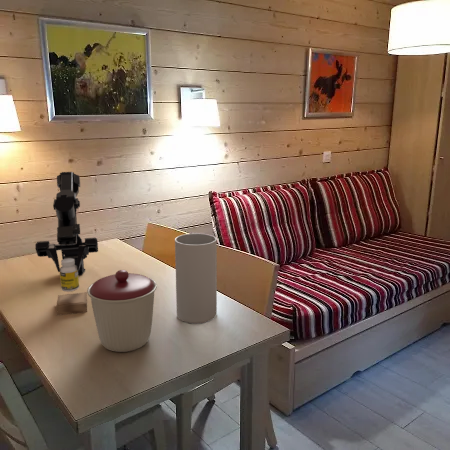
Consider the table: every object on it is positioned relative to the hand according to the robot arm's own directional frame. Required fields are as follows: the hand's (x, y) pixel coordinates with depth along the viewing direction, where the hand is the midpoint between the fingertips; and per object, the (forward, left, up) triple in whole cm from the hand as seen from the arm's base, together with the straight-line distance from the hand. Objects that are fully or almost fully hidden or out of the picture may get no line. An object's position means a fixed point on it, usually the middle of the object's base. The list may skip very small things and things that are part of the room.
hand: (68, 270), depth 134 cm
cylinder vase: (-40, +7, -13) cm, 43 cm away
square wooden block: (0, -1, -13) cm, 13 cm away
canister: (-20, +22, -13) cm, 33 cm away
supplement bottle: (0, -1, -7) cm, 7 cm away
